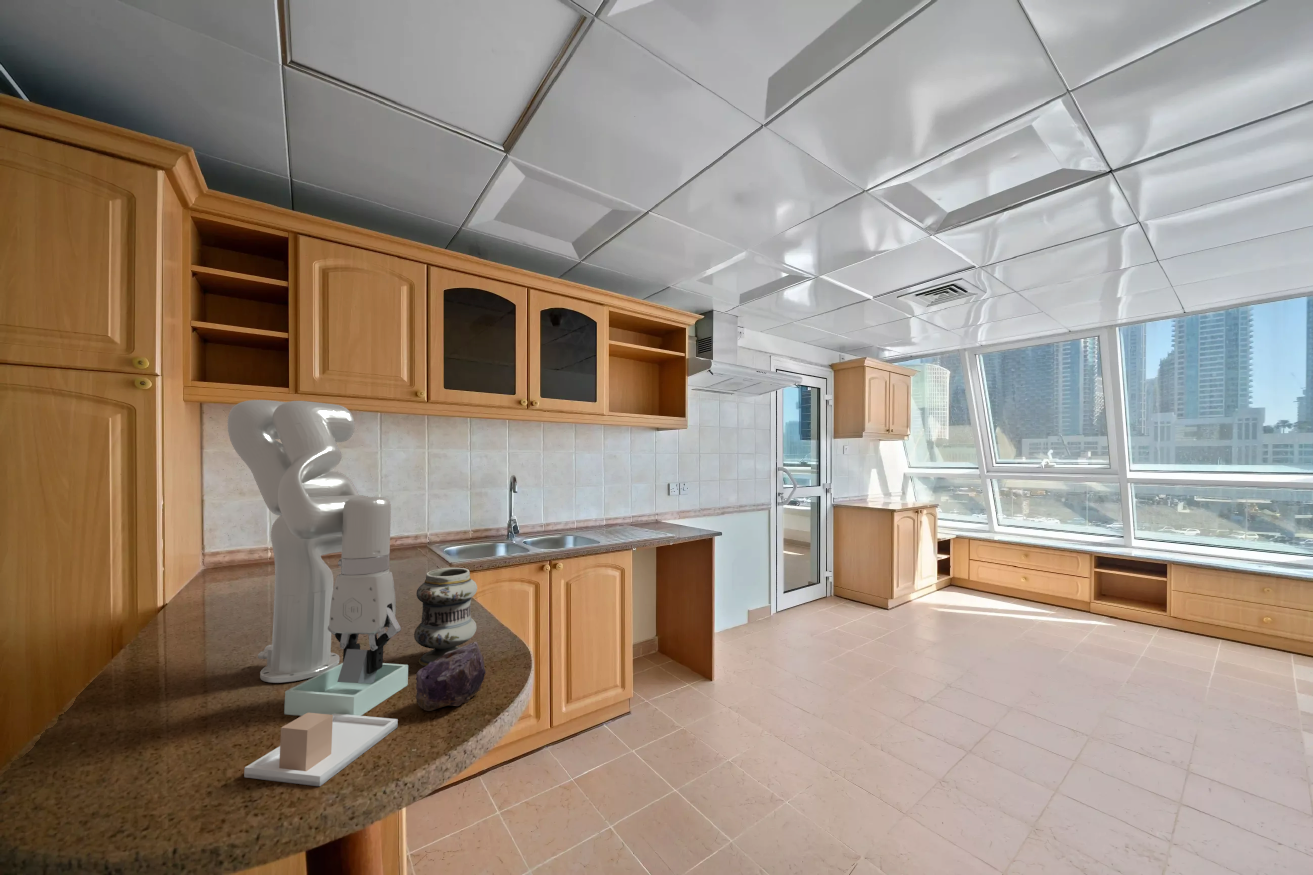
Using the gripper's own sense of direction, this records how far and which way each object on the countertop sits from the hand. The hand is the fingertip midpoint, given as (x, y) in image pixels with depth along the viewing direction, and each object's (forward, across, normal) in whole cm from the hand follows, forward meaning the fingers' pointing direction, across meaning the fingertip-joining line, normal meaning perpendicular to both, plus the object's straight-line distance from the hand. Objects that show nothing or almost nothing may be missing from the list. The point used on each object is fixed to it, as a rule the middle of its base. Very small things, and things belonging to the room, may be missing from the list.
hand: (362, 668), depth 86 cm
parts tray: (+4, +9, -16) cm, 19 cm away
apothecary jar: (+4, +5, +17) cm, 18 cm away
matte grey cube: (+2, 0, -2) cm, 2 cm away
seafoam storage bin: (+4, 0, -2) cm, 5 cm away
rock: (+5, +18, 0) cm, 19 cm away
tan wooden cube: (+4, +9, -20) cm, 22 cm away
